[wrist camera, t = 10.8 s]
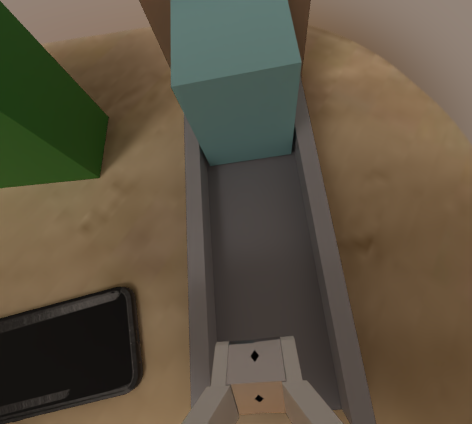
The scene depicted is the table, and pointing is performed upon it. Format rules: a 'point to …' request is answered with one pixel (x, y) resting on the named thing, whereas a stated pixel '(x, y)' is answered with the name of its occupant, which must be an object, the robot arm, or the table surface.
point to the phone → (69, 354)
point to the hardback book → (43, 115)
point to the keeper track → (268, 254)
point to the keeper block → (236, 76)
